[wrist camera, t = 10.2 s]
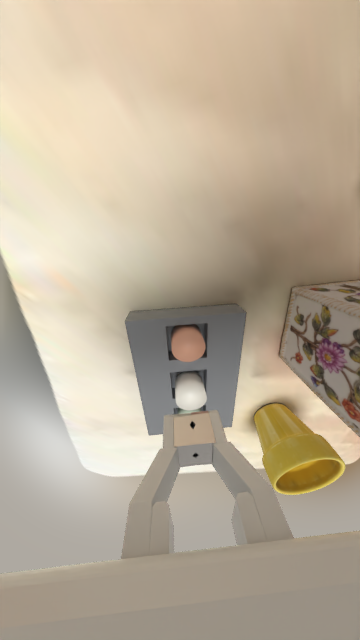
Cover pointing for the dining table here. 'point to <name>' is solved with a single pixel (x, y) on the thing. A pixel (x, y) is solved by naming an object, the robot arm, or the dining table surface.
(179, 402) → the ivory button
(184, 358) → the terracotta button
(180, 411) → the sage button
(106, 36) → the dining table surface
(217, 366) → the button console
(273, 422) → the plant pot
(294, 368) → the decorative jar
